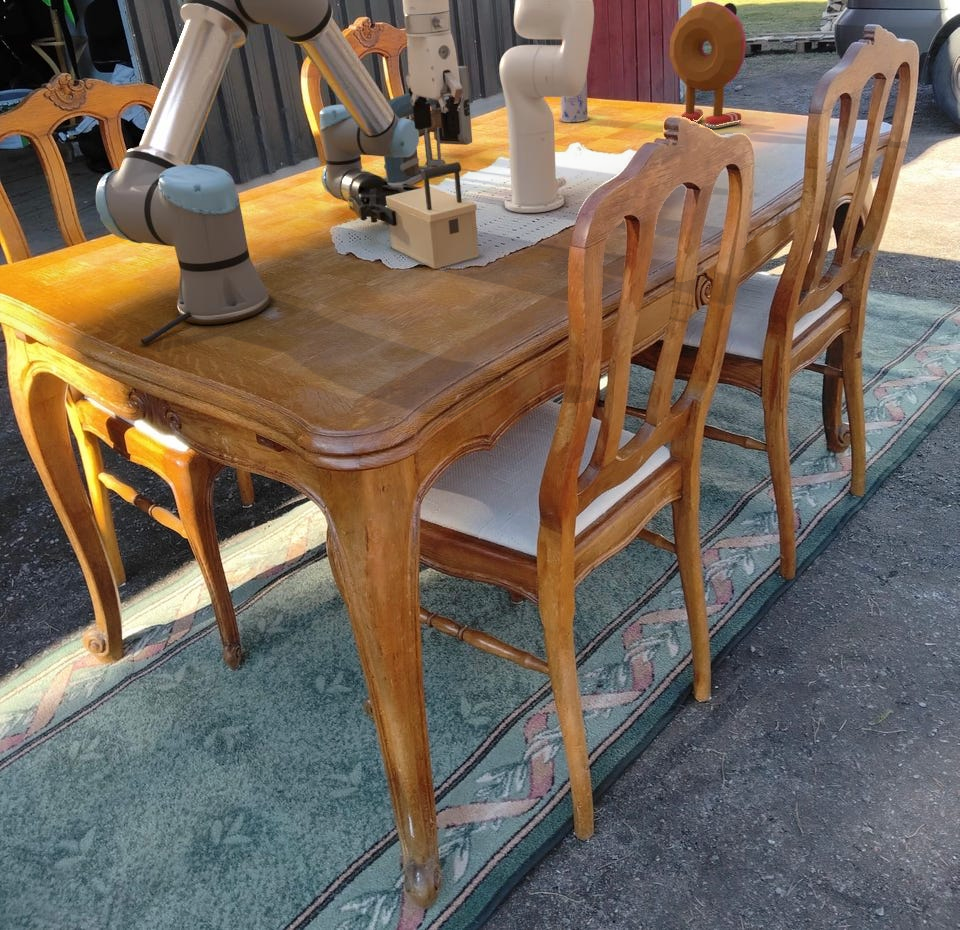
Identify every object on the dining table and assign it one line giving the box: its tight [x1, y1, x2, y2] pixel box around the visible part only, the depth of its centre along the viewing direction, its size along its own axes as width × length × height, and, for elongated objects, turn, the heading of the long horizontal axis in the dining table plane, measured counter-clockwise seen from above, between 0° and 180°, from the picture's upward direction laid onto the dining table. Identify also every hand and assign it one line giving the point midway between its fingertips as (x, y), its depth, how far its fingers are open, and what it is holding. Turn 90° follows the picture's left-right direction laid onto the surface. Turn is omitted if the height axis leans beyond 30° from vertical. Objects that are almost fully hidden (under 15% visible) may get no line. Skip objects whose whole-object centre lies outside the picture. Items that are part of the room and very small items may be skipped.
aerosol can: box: [560, 75, 589, 123], centre depth 273 cm, size 8×8×20 cm
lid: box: [386, 161, 478, 222], centre depth 177 cm, size 17×10×8 cm, turn 32°
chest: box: [386, 203, 480, 270], centre depth 182 cm, size 17×10×9 cm, turn 32°
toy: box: [669, 1, 747, 129], centre depth 252 cm, size 21×10×30 cm, turn 47°
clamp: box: [382, 65, 473, 188], centre depth 234 cm, size 35×9×21 cm, turn 151°
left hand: (418, 212), depth 185 cm, fingers closed on chest, 10 cm apart
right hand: (437, 132), depth 168 cm, fingers open, 9 cm apart
